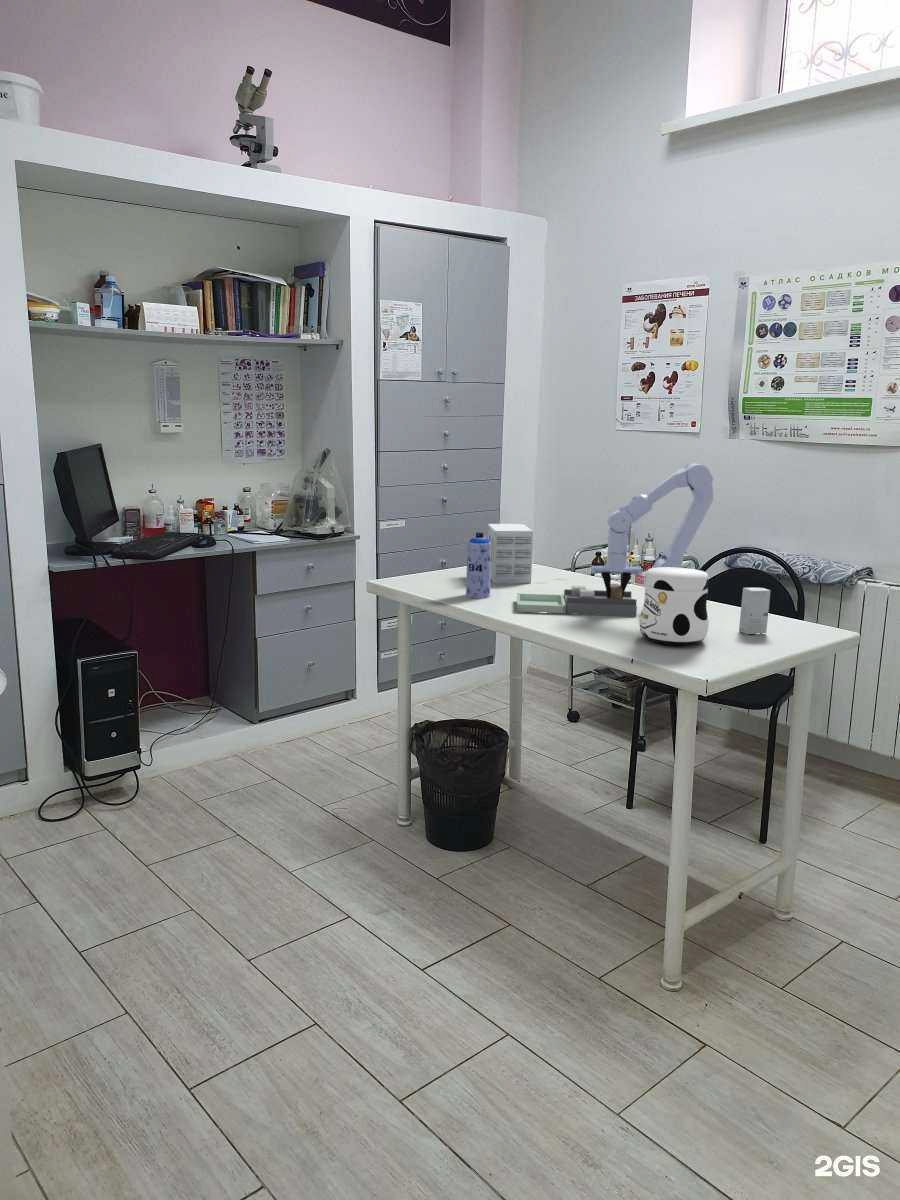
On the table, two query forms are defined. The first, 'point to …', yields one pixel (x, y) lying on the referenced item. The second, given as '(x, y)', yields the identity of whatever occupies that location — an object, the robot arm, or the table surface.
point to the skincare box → (754, 610)
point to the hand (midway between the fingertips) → (614, 597)
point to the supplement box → (510, 553)
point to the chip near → (586, 593)
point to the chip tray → (541, 603)
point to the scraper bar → (615, 591)
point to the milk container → (675, 606)
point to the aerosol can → (478, 567)
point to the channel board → (601, 604)
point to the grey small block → (576, 590)
